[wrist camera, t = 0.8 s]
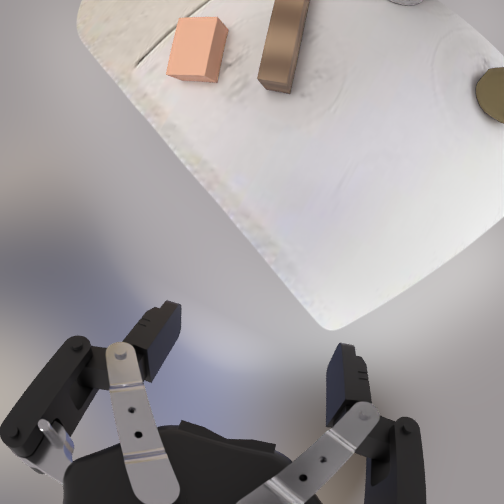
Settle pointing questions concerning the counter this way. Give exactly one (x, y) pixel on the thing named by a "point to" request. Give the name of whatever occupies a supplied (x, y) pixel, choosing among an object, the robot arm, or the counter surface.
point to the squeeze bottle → (492, 93)
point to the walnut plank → (282, 45)
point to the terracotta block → (197, 49)
